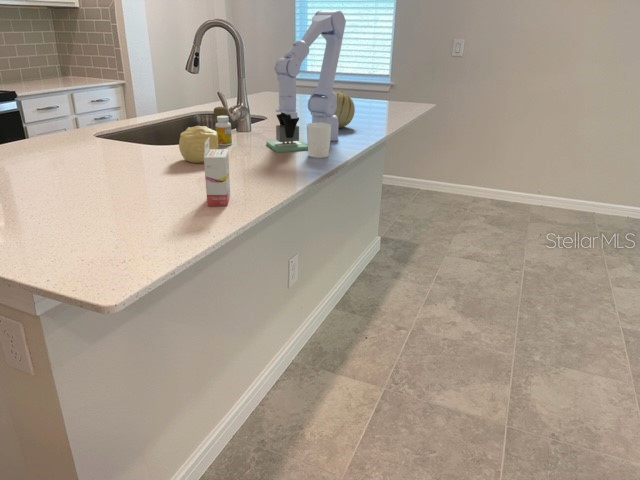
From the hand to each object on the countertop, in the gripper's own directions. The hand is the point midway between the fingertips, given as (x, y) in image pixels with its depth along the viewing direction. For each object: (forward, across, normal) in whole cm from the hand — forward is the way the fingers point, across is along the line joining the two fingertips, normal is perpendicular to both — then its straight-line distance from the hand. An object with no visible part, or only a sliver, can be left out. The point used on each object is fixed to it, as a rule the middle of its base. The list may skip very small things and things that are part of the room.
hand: (287, 136), depth 172 cm
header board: (+4, 0, 0) cm, 4 cm away
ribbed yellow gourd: (+4, -28, +31) cm, 42 cm away
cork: (+4, -24, -18) cm, 30 cm away
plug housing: (+1, 0, 0) cm, 1 cm away
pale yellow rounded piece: (+4, +9, -32) cm, 33 cm away
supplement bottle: (+4, -11, -20) cm, 23 cm away
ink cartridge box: (+4, +49, -34) cm, 60 cm away
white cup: (+4, +15, +6) cm, 16 cm away
